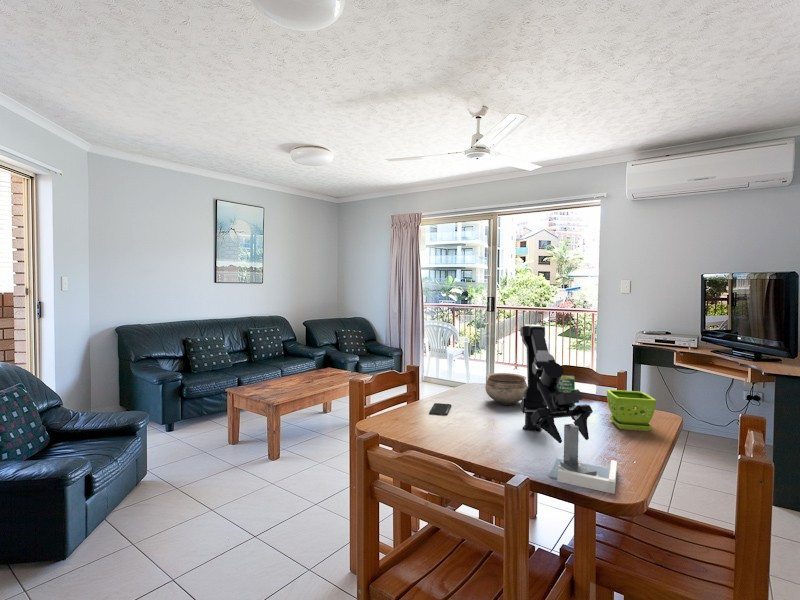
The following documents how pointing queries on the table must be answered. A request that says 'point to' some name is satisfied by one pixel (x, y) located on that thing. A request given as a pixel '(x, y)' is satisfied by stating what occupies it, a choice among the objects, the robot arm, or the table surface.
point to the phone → (440, 409)
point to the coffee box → (567, 384)
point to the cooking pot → (506, 387)
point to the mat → (600, 470)
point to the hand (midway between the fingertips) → (574, 440)
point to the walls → (590, 479)
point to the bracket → (573, 452)
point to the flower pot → (631, 409)
